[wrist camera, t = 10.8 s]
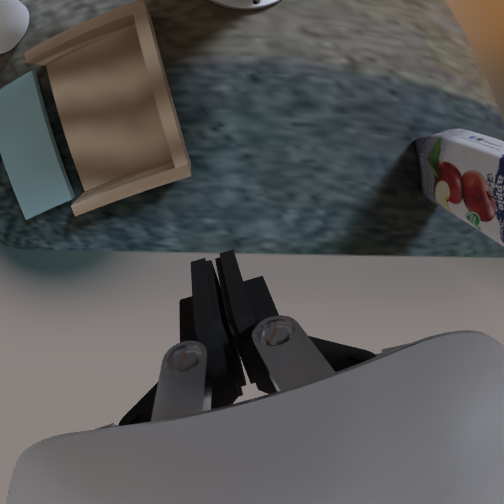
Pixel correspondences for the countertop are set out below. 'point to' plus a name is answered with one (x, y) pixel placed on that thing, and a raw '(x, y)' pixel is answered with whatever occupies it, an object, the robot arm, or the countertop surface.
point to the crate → (114, 105)
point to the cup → (12, 23)
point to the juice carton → (465, 177)
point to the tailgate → (31, 148)
